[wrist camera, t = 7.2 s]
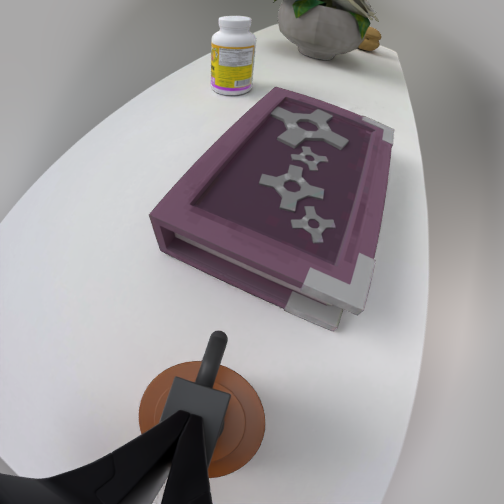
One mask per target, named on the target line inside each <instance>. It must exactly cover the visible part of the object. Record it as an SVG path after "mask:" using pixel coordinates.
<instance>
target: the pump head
mask: <svg viewBox="0 0 504 504" xmlns="http://www.w3.org/2000/svg"><path fill="white" fill-rule="evenodd" d="M227 341H228V338H227V335H226V334H225V333H224V332H222V331H215V332H213V333H212V334H211V336H210V339H209V342H208V345H207V348H206V351H205V354H204V357H203V360H202V363H201V366H200V369H199V372H198V375H197V378H196V381H195V382H192V381H189V380H186V379H183V378H180V377H177V376H175V377H174V380H173V383H172V386H171V389H170V392H169V394H168V397H167V400H166V403H165V406H164V409H163V412H162V415H161V418H160V421H159V423H160V422H162V421H163V420H165V419H166V418H168V417H169V416H171V415H172V414H174V413H175V412H177V411H178V410H184V411H186V412H189V413H190V414H195V415H198V416H201V417H202V418H203V427H204V438H205V448H206V458H207V467H208V468H209V465H210V462H211V459H212V456H213V453H214V449H215V446H216V443H217V440H218V437H219V434H220V430H221V427H222V424H223V421H224V418H225V414H226V411H227V408H228V405H229V401H230V398H231V394H230V393H227V392H223V391H220V390H216V389H213V385H214V382H215V379H216V376H217V373H218V370H219V367H220V363H221V360H222V357H223V354H224V351H225V348H226V344H227Z"/></svg>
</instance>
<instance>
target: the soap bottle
mask: <svg viewBox="0 0 504 504" xmlns="http://www.w3.org/2000/svg"><path fill="white" fill-rule="evenodd" d="M201 363H202V361H192V362H185V363H181V364H178V365H175V366H172V367H170V368H168V369H166V370H165V371H163V372H162V373H160V374H159V375H158V376H157V377H156V378H155V379H153V381H152V382H151V383H150V384H149V385H148V387H147V389H146V390H145V392H144V394H143V397H142V399H141V403H140V407H139V426H140V431H141V434H143V433H144V432H146V431H148V430H149V429H151V428H152V427H154V426H155V425H157V424H159V421H160V418H161V415H162V412H163V409H164V406H165V403H166V400H167V397H168V394H169V392H170V389H171V386H172V383H173V380H174V377H175V376H177V377H180V378H183V379H186V380H189V381H192V382H195V381H196V378H197V375H198V372H199V369H200V366H201ZM213 389H216V390H220V391H223V392H227V393H230V394H231V398H230V401H229V405H228V408H227V411H226V414H225V418H224V421H223V424H222V427H221V430H220V434H219V437H218V440H217V443H216V446H215V449H214V453H213V456H212V459H211V462H210V465H209V468H208V475H209V478H216V477H221V476H225V475H227V474H230V473H233V472H234V471H236V470H238V469H240V468H241V467H243V466H244V465H245V464H247V463H248V462H249V461H250V460H251V459H252V457H253V456H254V455H255V454H256V452H257V450H258V449H259V447H260V445H261V442H262V440H263V436H264V432H265V414H264V409H263V406H262V403H261V400H260V398H259V397H258V395H257V393H256V391H255V390H254V389H253V387H252V386H251V385H250V384H249V383H248V382H247V380H245V379H244V378H243V377H242V376H241V375H239V374H238V373H236V372H235V371H233V370H231V369H229V368H227V367H225V366H222V365H220V367H219V370H218V373H217V376H216V379H215V382H214V385H213Z"/></svg>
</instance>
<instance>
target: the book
mask: <svg viewBox="0 0 504 504" xmlns="http://www.w3.org/2000/svg"><path fill="white" fill-rule="evenodd" d="M393 139H394V129H392V128H390V127H388V126H386V125H384V124H382V123H379V122H377V121H375V120H373V119H370V118H368V117H366V116H360V115H358V114H355V113H353V112H350V111H348V110H345V109H343V108H340V107H337V106H335V105H332V104H329V103H326V102H324V101H321V100H318V99H315V98H312V97H309V96H306V95H302V94H299V93H296V92H293V91H289V90H286V89H282V88H279V87H275V88H273V89H272V90H271V91H270V92H269V93H268V94H266V95H265V96H264V97H263V98H262V99H261V100H260V101H258V102H257V103H256V104H255V105H254V106H253V107H252V108H251V109H250V110H249V111H247V112H246V113H245V114H244V115H243V116H242V117H241V118H240V119H239V120H238V121H237V122H236V123H235V124H234V125H232V126H231V127H230V128H229V129H228V130H227V131H226V132H225V133H224V134H223V135H222V136H221V137H220V138H219V139H218V140H217V141H216V142H215V143H214V144H213V145H212V146H211V147H210V148H209V149H208V150H207V151H206V152H205V153H204V154H203V155H202V156H201V157H200V158H199V159H198V160H197V161H196V163H195V164H194V165H193V166H192V167H191V168H190V169H189V170H188V171H187V172H186V173H185V174H184V175H183V176H182V177H181V179H180V180H179V181H178V182H177V183H176V184H175V185H174V186H173V187H172V189H171V190H170V191H169V192H168V193H167V194H166V195H165V196H164V198H163V199H162V200H161V201H160V202H159V203H158V205H157V206H156V207H155V208H154V209H153V210H152V212H151V213H150V214H149V217H150V220H151V223H152V226H153V230H154V233H155V236H156V239H157V242H158V245H159V248H160V251H162V252H164V253H166V254H168V255H171V256H173V257H175V258H177V259H179V260H181V261H183V262H185V263H187V264H189V265H191V266H193V267H195V268H197V269H199V270H201V271H203V272H206V273H208V274H210V275H212V276H214V277H216V278H218V279H220V280H222V281H225V282H227V283H229V284H231V285H233V286H235V287H237V288H240V289H242V290H244V291H246V292H248V293H251V294H253V295H255V296H257V297H259V298H262V299H264V300H266V301H268V302H271V303H273V304H275V305H277V306H279V307H282V308H284V311H287V312H289V313H291V314H294V315H296V316H298V317H300V318H303V319H305V320H307V321H310V322H312V323H314V324H317V325H319V326H321V327H324V328H326V329H329V330H331V331H334V330H335V329H337V327H338V324H339V321H340V318H341V315H342V312H343V309H344V310H346V311H348V312H351V313H353V314H355V315H359V314H360V313H361V312H362V311H363V310H364V307H365V303H366V300H367V296H368V292H369V288H370V284H371V280H372V275H373V271H374V266H375V262H376V260H374V257H375V252H376V247H377V242H378V237H379V232H380V227H381V221H382V215H383V210H384V203H385V197H386V190H387V183H388V175H389V167H390V158H391V148H392V146H393Z"/></svg>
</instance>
